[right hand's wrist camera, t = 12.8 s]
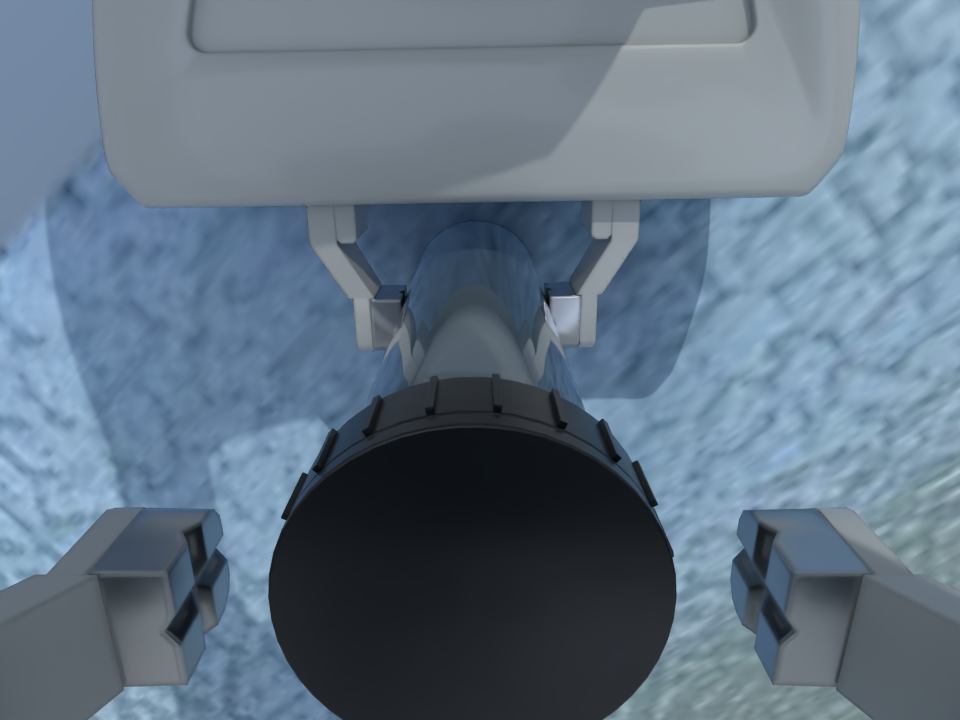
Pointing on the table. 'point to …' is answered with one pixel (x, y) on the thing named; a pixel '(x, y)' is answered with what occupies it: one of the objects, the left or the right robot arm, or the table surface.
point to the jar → (475, 317)
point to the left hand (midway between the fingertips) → (477, 344)
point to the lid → (472, 561)
